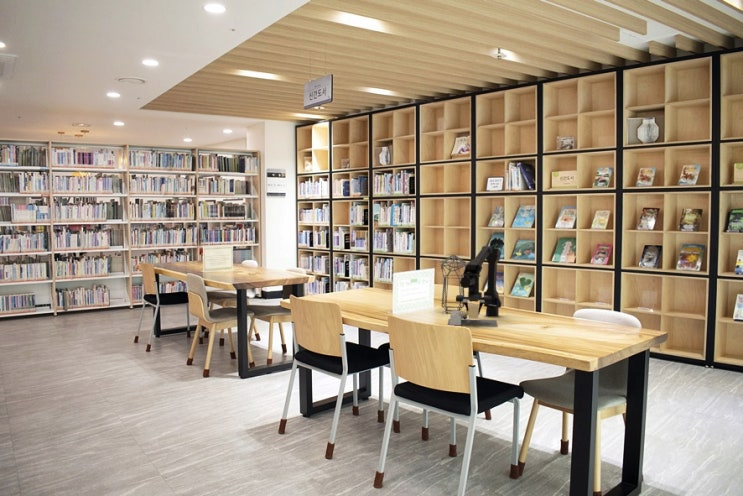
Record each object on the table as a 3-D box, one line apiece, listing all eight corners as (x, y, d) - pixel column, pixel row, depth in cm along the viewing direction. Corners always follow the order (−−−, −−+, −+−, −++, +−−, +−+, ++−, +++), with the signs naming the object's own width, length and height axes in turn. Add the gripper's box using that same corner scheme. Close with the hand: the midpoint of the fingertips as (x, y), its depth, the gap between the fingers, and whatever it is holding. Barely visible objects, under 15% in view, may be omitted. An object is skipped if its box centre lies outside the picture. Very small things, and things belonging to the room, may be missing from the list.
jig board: (448, 320, 324) (448, 318, 324) (496, 322, 320) (496, 320, 320) (447, 327, 307) (447, 325, 307) (497, 328, 302) (497, 327, 302)
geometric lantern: (466, 310, 356) (467, 253, 352) (465, 315, 340) (466, 256, 337) (440, 309, 358) (441, 252, 355) (438, 314, 343) (439, 255, 340)
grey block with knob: (451, 319, 323) (451, 310, 323) (467, 319, 322) (467, 310, 321) (450, 325, 307) (450, 315, 307) (466, 325, 306) (467, 316, 306)
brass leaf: (463, 312, 322) (464, 303, 321) (478, 312, 320) (478, 303, 320) (463, 318, 306) (463, 308, 306) (478, 318, 305) (478, 309, 304)
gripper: (455, 287, 305) (455, 317, 307) (491, 288, 302) (491, 318, 303) (456, 284, 316) (456, 313, 318) (491, 285, 313) (491, 314, 314)
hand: (473, 314), depth 313 cm, fingers closed on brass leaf, 5 cm apart
